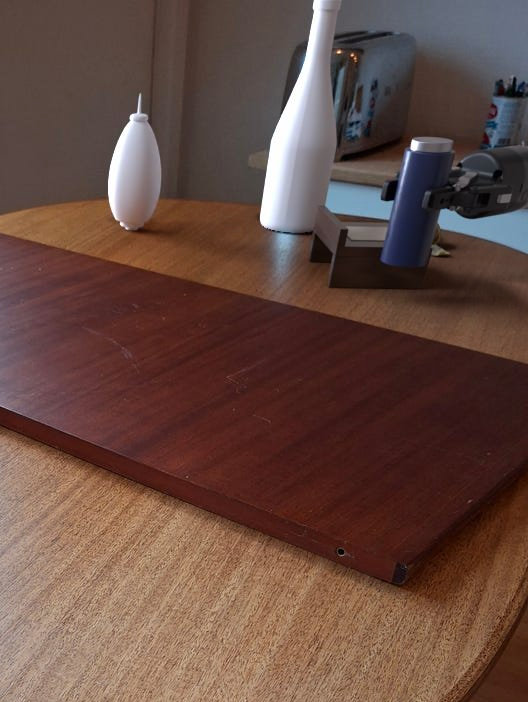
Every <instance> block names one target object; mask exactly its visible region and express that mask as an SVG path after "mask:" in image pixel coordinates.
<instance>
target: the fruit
mask: <svg viewBox="0 0 528 702" xmlns="http://www.w3.org/2000/svg"><path fill="white" fill-rule="evenodd" d="M441 229H442V228H441V227H440V224H439V223H438V222H437V226H436V230H435V234H434V238H433V242H432V246H431V247H432V248H433V250H432V253H431V256H446V255H451V252H448V251H446V250H445V249H443V248H442V247H440V245H439V244H440V242H441V239H442V230H441Z"/></svg>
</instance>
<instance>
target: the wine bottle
mask: <svg viewBox="0 0 528 702" xmlns="http://www.w3.org/2000/svg"><path fill="white" fill-rule="evenodd" d="M342 1H343V0H313V5H312V9H313V17H312V21H311V27H310V31H309V37H308V42H307V49H306V54H305V59H304V62H303V66H302V68H301V71H300V72H299V73H300V74H299V76H298V78H297V81H296V83H295V85H294V87H293V89H292V92H291V94H290V96H289V99H288V100H287V103H286V106H285V107H284V110H283V112H282V114H281V116H280V118H279V121H278V122H277V125H276V128H275V130H274V132H273V135H272V138H271V140H270V147H269V155H268V160H267V167H266V175H265V181H264V188H263V195H262V201H261V207H260V208H261V209H260V214H259V221H260V224H261V226H262V227H263V226H264V227H263V228H265V229H267V228H268V229H267V230H269V229H271V230H270V231H272V230H275V231H274V232H277V231H281V232H280V233H283V232H291V233H290V234H306V233H305V232H308V233H312V232H311V231H313V229H314V224H315V218H316V213H317V208H318V205H320V206H326V203H327V197H328V193H329V189H330V188H329V187H330V182H331V176H332V172H333V166H334V161H335V157H336V156H335V155H336V150H337V145H338V144H337V143H338V137H337V124H336V115H335V107H334V106H335V105H334V98H333V87H332V86H333V85H332V76H331V60H332V59H331V58H332V51H333V46H334V39H335V34H336V33H335V31H336V28H337V27H336V26H337V19H338V12H339V11H340V10H341V6H342Z"/></svg>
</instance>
